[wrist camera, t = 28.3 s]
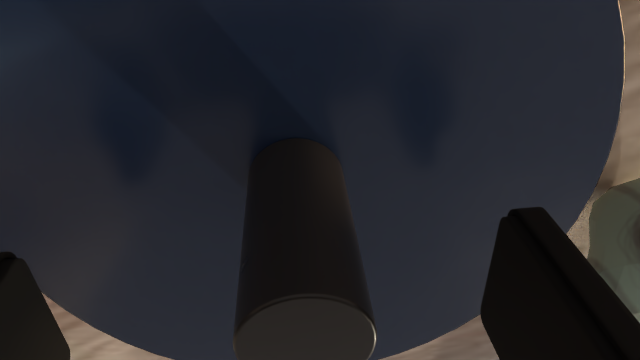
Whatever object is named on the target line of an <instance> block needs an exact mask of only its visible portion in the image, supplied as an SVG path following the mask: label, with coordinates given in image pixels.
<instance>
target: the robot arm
mask: <svg viewBox="0 0 640 360" xmlns="http://www.w3.org/2000/svg"><path fill="white" fill-rule="evenodd" d="M480 312H481V319H482V323H483V325H484V328H485V330H486V332H487V334H488V336H489V338H490V340H491V342H492V344H493V346H494V348H495V351H496V353H497V355H498V357H499V359H500V360H640V322H639V321H638V320H637V319H636V318H635V316H634V315H633V314H632V313H631V312H630V310H629V309H628V308H627V307H626V306H625V304H624V303H623V302H622V301H621V300H620V298H619V297H618V296H617V295H616V294H615V292H614V291H613V290H612V289H611V288H610V286H609V285H608V284H607V283H606V282H605V280H604V279H603V278H602V277H601V276H600V275H599V274H598V272H597V271H596V270H595V269H594V268H593V266H592V265H591V264H590V263H589V262H588V260H587V259H586V258H585V257H584V256H583V254H582V253H581V252H580V251H579V250H578V248H577V247H576V246H575V245H574V244H573V242H572V241H571V240H570V239H569V238H568V236H567V235H566V234H565V233H564V231H563V230H562V229H561V228H560V227H559V225H558V224H557V223H556V222H555V221H554V219H553V218H552V217H551V216H550V215H549V213H548V212H547V211H546V210H545V209H544V208H542V207H529V208H517V209H512V210H510V211H509V213H508V215H507V217H502V218H501V220H500V223H499V227H498V231H497V236H496V240H495V245H494V249H493V254H492V258H491V263H490V267H489V272H488V276H487V281H486V285H485V290H484V294H483V299H482V303H481V309H480ZM0 360H70V349H69V346H68V344H67V342H66V340H65V338H64V336H63V334H62V332H61V330H60V328H59V326H58V324H57V322H56V320H55V318H54V316H53V314H52V312H51V310H50V309H49V307H48V305H47V303H46V301H45V299H44V297H43V295H42V293H41V291H40V289H39V287H38V285H37V283H36V281H35V279H34V277H33V275H32V273H31V271H30V269H29V267H28V265H27V263H26V262H25V260H23V259H22V258H17V257H16V255H15V254H13V253H12V252H0Z"/></svg>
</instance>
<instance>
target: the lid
mask: <svg viewBox="0 0 640 360" xmlns="http://www.w3.org/2000/svg"><path fill="white" fill-rule="evenodd" d="M624 83H625V36H624V29H623V23H622V16H621V10H620V3H619V0H0V252H12V253H13V254H15V255H16V257H17V258H22V259H23V260H25V262H26V263H27V265H28V267H29V269H30V271H31V273H32V275H33V277H34V279H35V281H36V283H37V285H38V287H39V289H40V291H41V292H42V293H43V294H45V295H46V296H47V297H49V298H50V299H51V300H53V301H54V302H55V303H57V304H58V305H59V306H61V307H62V308H63V309H64V310H66V311H68V312H69V313H71V314H73V315H74V316H76V317H77V318H79V319H81V320H82V321H84V322H86V323H87V324H89V325H91V326H92V327H94V328H96V329H98V330H100V331H102V332H104V333H106V334H108V335H110V336H112V337H114V338H116V339H118V340H121V341H123V342H125V343H127V344H130V345H132V346H135V347H138V348H140V349H143V350H146V351H148V352H151V353H154V354H156V355H160V356H164V357H167V358H171V359H174V360H379V359H382V358H385V357H389V356H392V355H396V354H399V353H402V352H404V351H407V350H409V349H412V348H415V347H417V346H420V345H422V344H425V343H428V342H430V341H432V340H434V339H436V338H438V337H440V336H442V335H444V334H446V333H448V332H450V331H452V330H455V329H457V328H458V327H460V326H462V325H463V324H465V323H467V322H468V321H470V320H472V319H473V318H475V317H477V316H478V315H480V314H481V312H480V309H481V303H482V299H483V294H484V290H485V285H486V281H487V276H488V272H489V267H490V263H491V258H492V254H493V249H494V245H495V240H496V236H497V231H498V227H499V223H500V220H501V218H502V217H507V215H508V213H509V211H510V210H512V209H517V208H529V207H542V208H544V209H545V210H546V211H547V212H548V213H549V215H550V216H551V217H552V218H553V219H554V221H555V222H556V223H557V224H558V225H559V227H560V228H561V229H562V230H563V231H564V233H565V234H567V232H568V231H569V230H570V228H571V227H572V226H573V224H574V223H575V222H576V220H577V218H578V217H579V215H580V213H581V212H582V210H583V208H584V206H585V205H586V203H587V201H588V200H589V198H590V196H591V194H592V193H593V191H594V189H595V187H596V184H597V182H598V180H599V177H600V175H601V173H602V171H603V168H604V166H605V164H606V161H607V159H608V157H609V153H610V150H611V146H612V143H613V139H614V136H615V133H616V129H617V126H618V122H619V117H620V111H621V104H622V97H623V90H624Z"/></svg>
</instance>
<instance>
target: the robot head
mask: <svg viewBox="0 0 640 360" xmlns="http://www.w3.org/2000/svg"><path fill="white" fill-rule="evenodd" d="M589 236H590V248H589V253H588V258H587V260H588V262H589V263H590V264H591V265H592V266H593V268H594V269H595V270H596V271H597V272H598V274H599V275H600V276H601V277H602V278H603V279H604V280H605V282H606V283H607V284H608V285H609V286H610V288H611V289H612V290H613V291H614V292H615V294H616V295H617V296H618V297H619V298H620V300H621V301H622V302H623V303H624V304H625V306H626V307H627V308H628V309H629V310H630V312H631V313H632V314H633V315H634V316H635V318H636V319H637V320H638V321H639V322H640V178H638V179H635V180H632V181H629V182H626V183H623V184H620V185H617V186H614V187H611V188H610V189H609V190H608V191H607V192H606V193H604V194H603V195H602V196H601V197H600V198H599V199H597V200H596V201H595V202H594V203H593V206H592V210H591V213H590V217H589Z"/></svg>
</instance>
